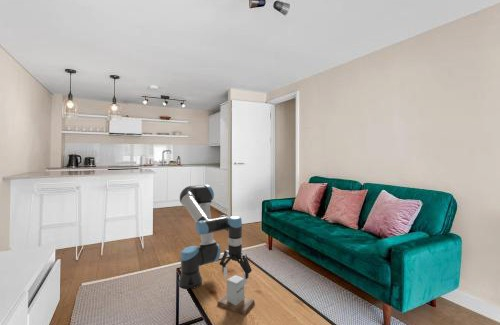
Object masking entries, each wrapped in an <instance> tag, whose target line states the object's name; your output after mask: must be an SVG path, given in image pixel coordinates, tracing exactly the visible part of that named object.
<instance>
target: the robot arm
mask: <svg viewBox="0 0 500 325" xmlns="http://www.w3.org/2000/svg"><path fill="white" fill-rule="evenodd" d="M214 198H215V193H214V190H213V187H212V186H211V185H209V184H199V185H190V186H186V187H184V188H183V189H182V190H181V192H180V194H179V201H180V204H181V206H183V207H184V208H185V209H186V210H187V212H188V213H189V214H190V216H191V217H192V219H193V220H194V222H195V230H196V231H195V232H196V234H198V235H199V236H200V241H201V242H200V243H199V246H198V245H189V246H186V247H185V248H183V249H182V250H181V252H180V276H179V279H178V287H179V288H180V289H183V290H190V289H189V288H193V289H195V288H194V287H196V288H198V287H199V285H200V284H201V285H202V284H203V277H202V275H201V272H200V267H201V266H204V265H208V264H211V263H214V262H217V261H219V259H220V257H221V252H222V250H221V247H220V244H219V243H217V241H216V240H215V239H214V233H215V232H221V231H227V232H228V234H227V235H228V249H225V250H224V251H223V256H222V258H221V260H220V262H219V265H220V266H222V272H223V279H224V280H225V279H227V277H228V265H227V264H228V263H230V261H231V260H232V261H233V262H234V261H235V262H237V263H238V264H239V265H240V267H241V269H242V271H243V278H244V286H246V284H248V279H249V274H250V273H251V272H252V267H251V264H250V263H249V260H248V258H247V257H248V256H247V254H246V253H245V254H242V251H243V245H242V243H243V240H242V239H243V238H242V237H243V230H242V228H243V226H242V225H243V223H242V222H243V221H242V217H241V216H238V215H232V216H228V215H225V214H222V215H220V216H219V217H216V218H212V213H211V204H212V203H213V202H212V201H213V200H214ZM227 256H228V257H227ZM226 258H227V259H226ZM201 285H200V286H201ZM197 286H198V287H197Z"/></svg>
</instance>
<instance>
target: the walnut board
mask: <svg viewBox="0 0 500 325" xmlns="http://www.w3.org/2000/svg"><path fill="white" fill-rule="evenodd" d="M254 304H255V299H253V298H249V297H246V296H244V300H243V301H242V302H240V303H239V304H238V305H234V304H232V303H230V302H228V301H227V292H226V293H225V294H224V295H223V296H221V298H219V299H217V306H219V307H223V308H226V309H228V310H231V311H234V312H237V313H239V314H243V315H246V314H247V313H248V311H249V310H251V308H252V307H253V306H254Z"/></svg>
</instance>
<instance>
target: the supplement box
mask: <svg viewBox="0 0 500 325" xmlns="http://www.w3.org/2000/svg"><path fill="white" fill-rule="evenodd" d="M226 293H227V301H228V302H230V303H232V304H234V305H238V304H239V303H240V302H242V301H243V300H244V297H245V285H244V277H241V276H239V275H236V274H234V275H233V276H231V277H229V278H226Z"/></svg>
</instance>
